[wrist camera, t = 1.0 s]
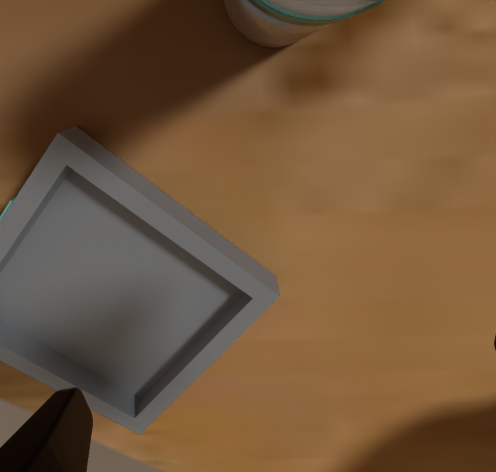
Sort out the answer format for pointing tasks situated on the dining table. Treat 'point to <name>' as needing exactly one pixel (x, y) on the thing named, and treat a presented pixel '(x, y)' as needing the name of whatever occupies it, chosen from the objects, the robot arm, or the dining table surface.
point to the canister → (289, 17)
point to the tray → (117, 284)
